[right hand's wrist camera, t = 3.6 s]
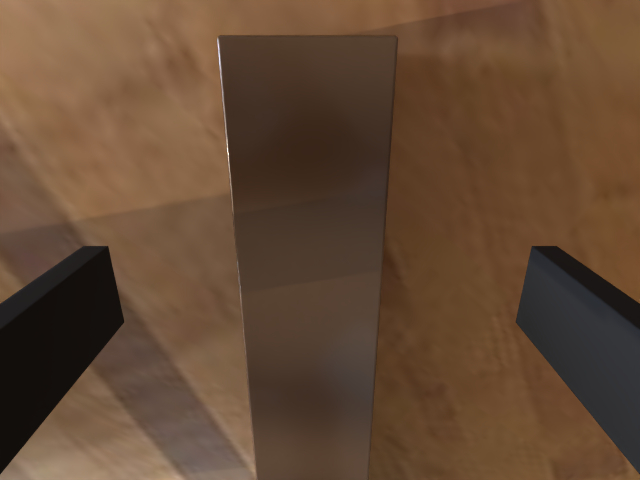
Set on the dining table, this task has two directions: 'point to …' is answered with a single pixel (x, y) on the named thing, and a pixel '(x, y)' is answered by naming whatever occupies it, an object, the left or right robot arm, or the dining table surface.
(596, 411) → the right robot arm
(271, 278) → the bar
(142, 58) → the dining table surface
